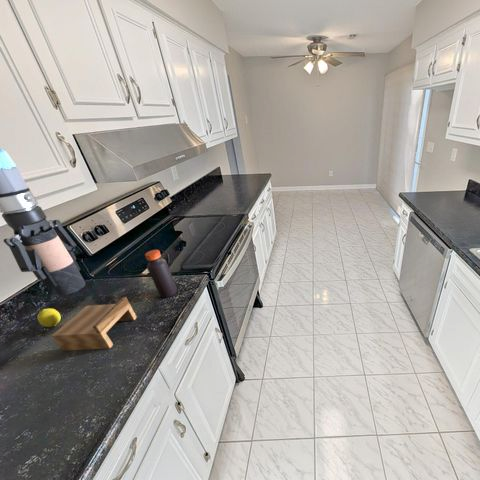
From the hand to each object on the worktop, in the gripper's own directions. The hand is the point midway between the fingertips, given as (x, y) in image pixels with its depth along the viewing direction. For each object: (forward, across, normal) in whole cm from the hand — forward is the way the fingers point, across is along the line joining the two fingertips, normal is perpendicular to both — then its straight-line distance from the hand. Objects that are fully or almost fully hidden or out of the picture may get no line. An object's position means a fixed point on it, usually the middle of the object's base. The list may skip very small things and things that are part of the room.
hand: (64, 277), depth 79 cm
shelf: (+24, 0, -1) cm, 24 cm away
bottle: (+24, +21, -14) cm, 35 cm away
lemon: (+24, +5, +21) cm, 33 cm away
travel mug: (+4, 0, 0) cm, 4 cm away
